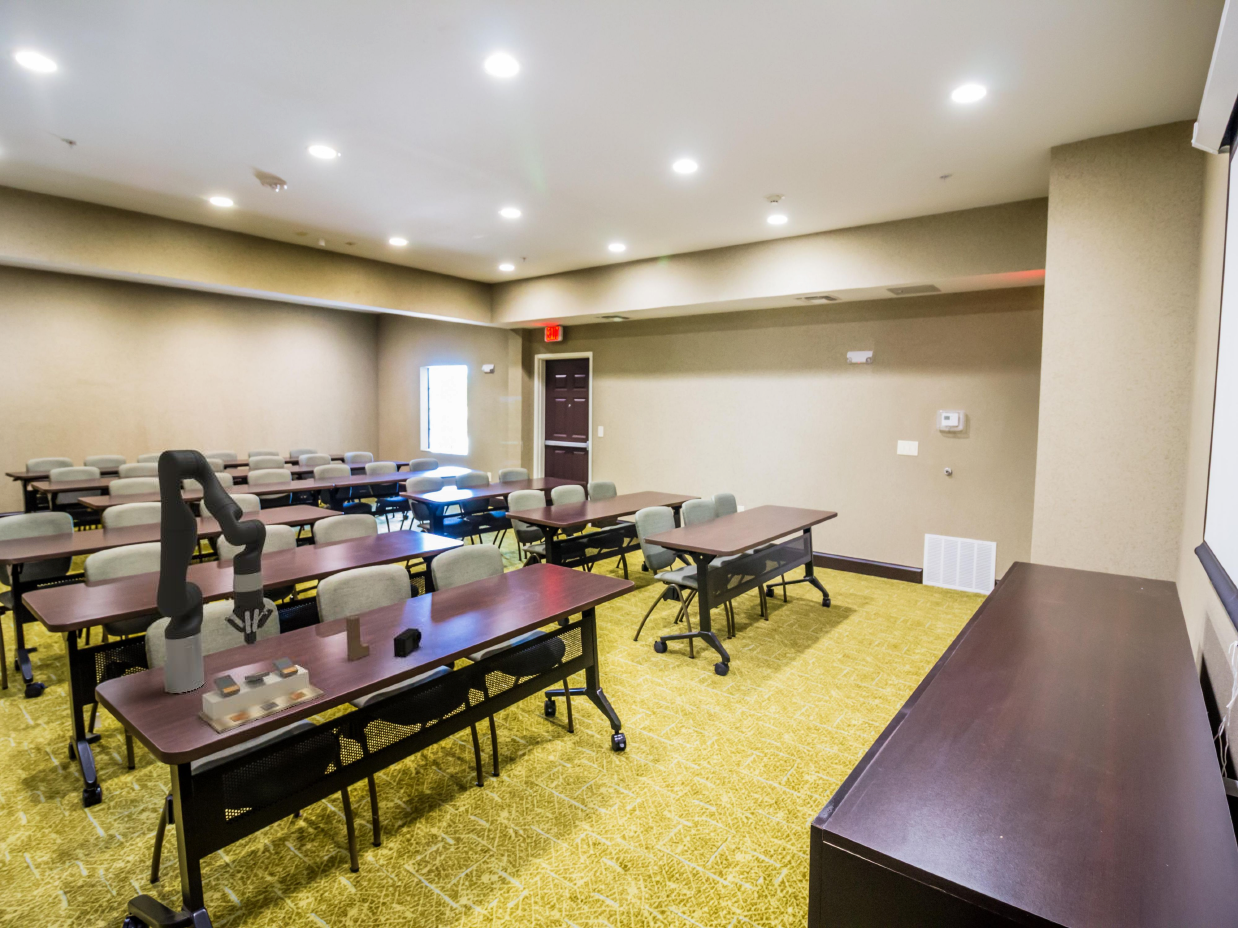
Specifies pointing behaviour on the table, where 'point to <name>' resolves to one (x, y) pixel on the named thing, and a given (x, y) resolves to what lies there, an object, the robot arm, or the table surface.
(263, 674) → the switch middle
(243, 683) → the switch box
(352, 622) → the wooden block
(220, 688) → the switch left
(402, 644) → the digital camera
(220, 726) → the chart board
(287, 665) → the switch right
